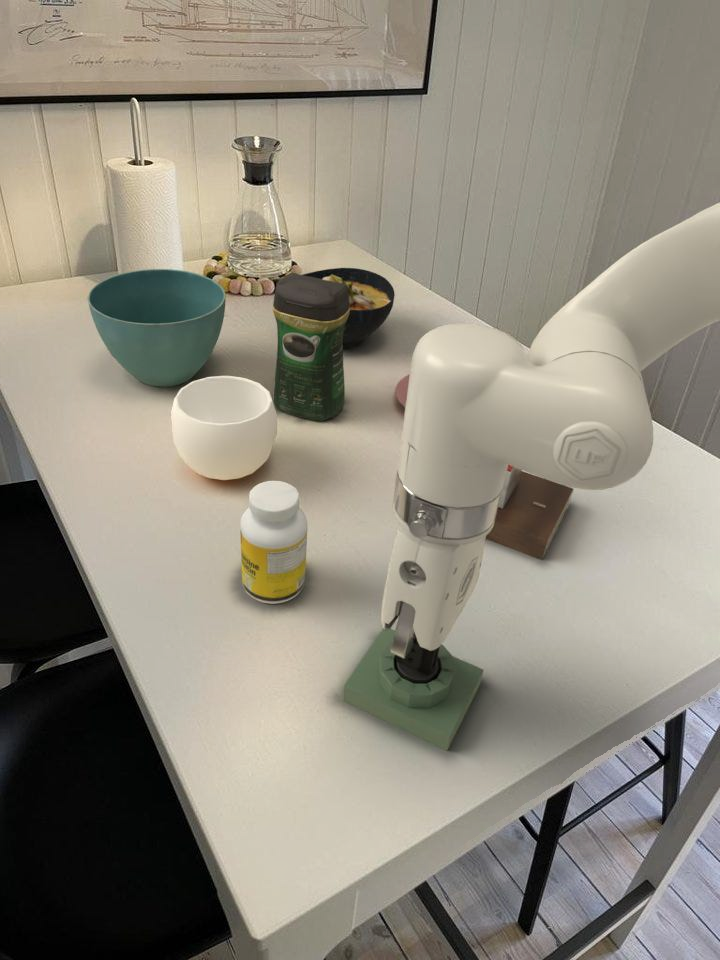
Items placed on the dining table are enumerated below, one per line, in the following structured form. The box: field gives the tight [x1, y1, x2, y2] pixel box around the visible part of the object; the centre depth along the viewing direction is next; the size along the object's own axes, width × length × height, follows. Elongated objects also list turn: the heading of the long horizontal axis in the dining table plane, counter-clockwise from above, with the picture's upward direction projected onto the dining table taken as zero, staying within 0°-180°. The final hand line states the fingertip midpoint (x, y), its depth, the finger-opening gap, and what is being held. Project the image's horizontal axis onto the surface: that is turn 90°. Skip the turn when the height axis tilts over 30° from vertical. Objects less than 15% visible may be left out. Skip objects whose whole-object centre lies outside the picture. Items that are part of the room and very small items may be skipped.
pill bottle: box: [239, 480, 308, 605], centre depth 74 cm, size 6×6×12 cm
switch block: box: [342, 627, 484, 752], centre depth 66 cm, size 10×8×4 cm
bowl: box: [302, 267, 396, 350], centre depth 120 cm, size 17×17×10 cm
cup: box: [170, 375, 278, 481], centre depth 90 cm, size 12×12×10 cm
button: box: [396, 661, 438, 684], centre depth 66 cm, size 4×4×2 cm
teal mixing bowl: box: [87, 268, 227, 388], centre depth 106 cm, size 18×18×12 cm
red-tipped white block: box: [498, 465, 523, 508], centre depth 86 cm, size 6×2×5 cm, turn 152°
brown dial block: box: [486, 470, 574, 561], centre depth 88 cm, size 14×11×3 cm
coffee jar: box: [272, 271, 350, 422], centre depth 100 cm, size 10×8×19 cm
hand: (415, 662), depth 65 cm, fingers closed
